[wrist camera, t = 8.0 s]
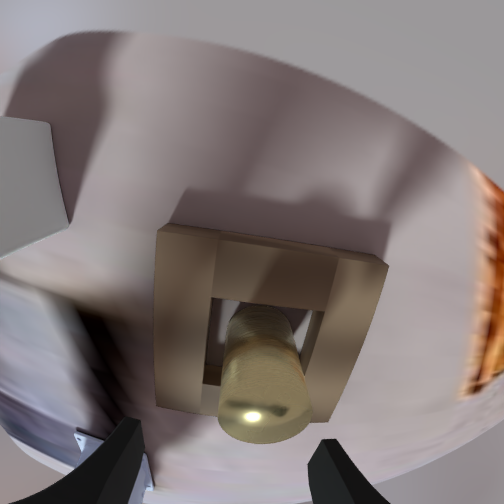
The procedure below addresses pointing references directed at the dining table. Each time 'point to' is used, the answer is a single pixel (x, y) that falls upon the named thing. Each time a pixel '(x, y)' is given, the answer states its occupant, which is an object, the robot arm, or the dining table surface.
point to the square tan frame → (260, 292)
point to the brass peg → (262, 379)
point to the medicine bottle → (28, 185)
